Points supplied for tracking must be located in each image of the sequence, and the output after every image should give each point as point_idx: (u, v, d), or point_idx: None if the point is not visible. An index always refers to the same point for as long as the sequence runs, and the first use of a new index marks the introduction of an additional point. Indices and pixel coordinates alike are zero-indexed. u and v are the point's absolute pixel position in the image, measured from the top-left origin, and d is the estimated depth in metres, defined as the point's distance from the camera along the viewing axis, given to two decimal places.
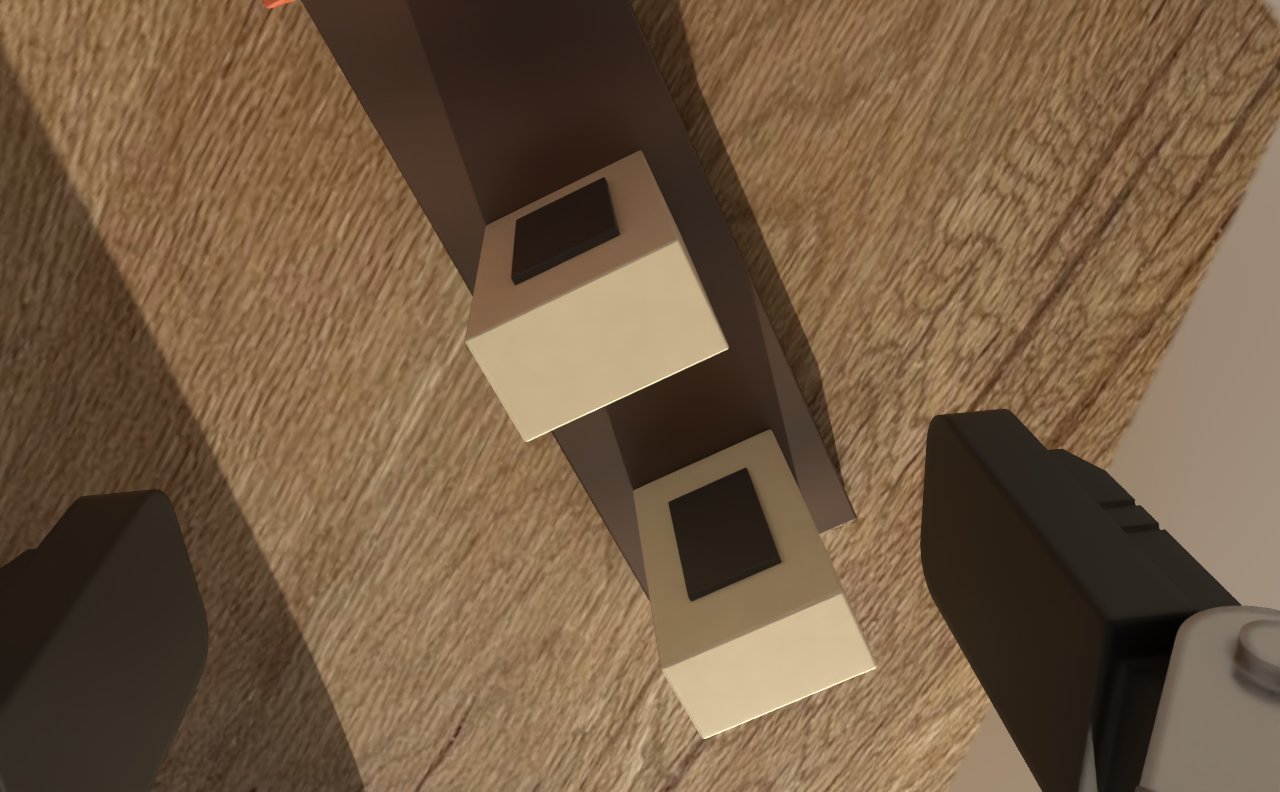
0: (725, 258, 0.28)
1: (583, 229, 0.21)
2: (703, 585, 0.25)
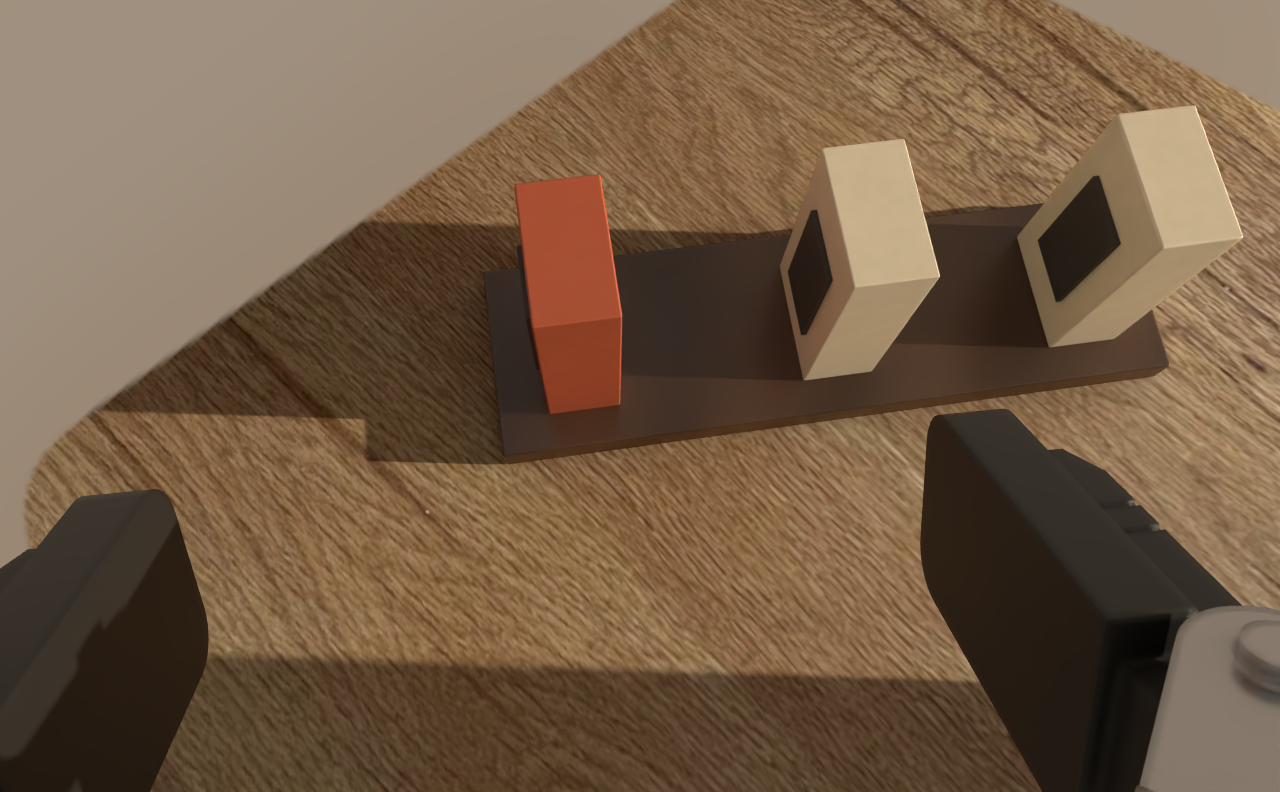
0: None
1: (809, 243, 0.32)
2: (1108, 234, 0.31)
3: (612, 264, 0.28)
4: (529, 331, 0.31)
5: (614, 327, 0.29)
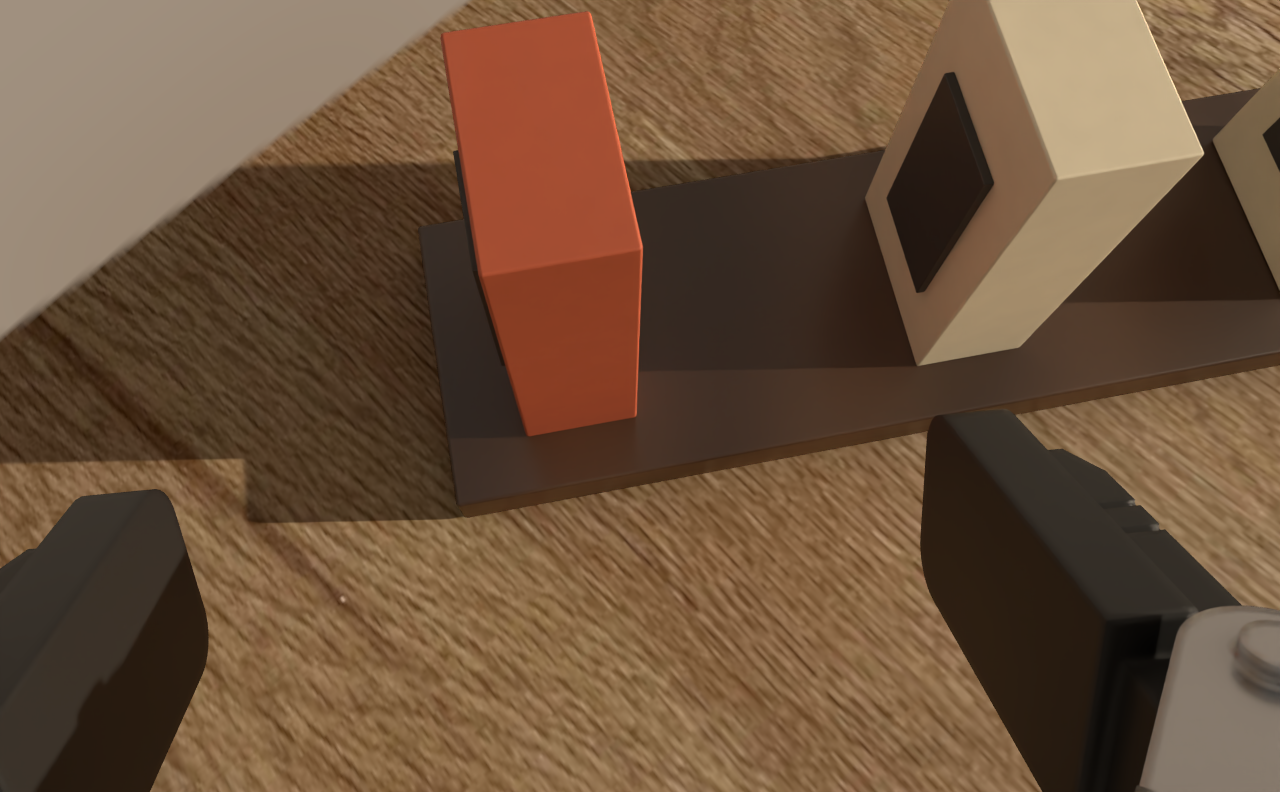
0: None
1: (940, 133, 0.19)
2: None
3: (620, 159, 0.16)
4: (482, 295, 0.18)
5: (628, 273, 0.16)
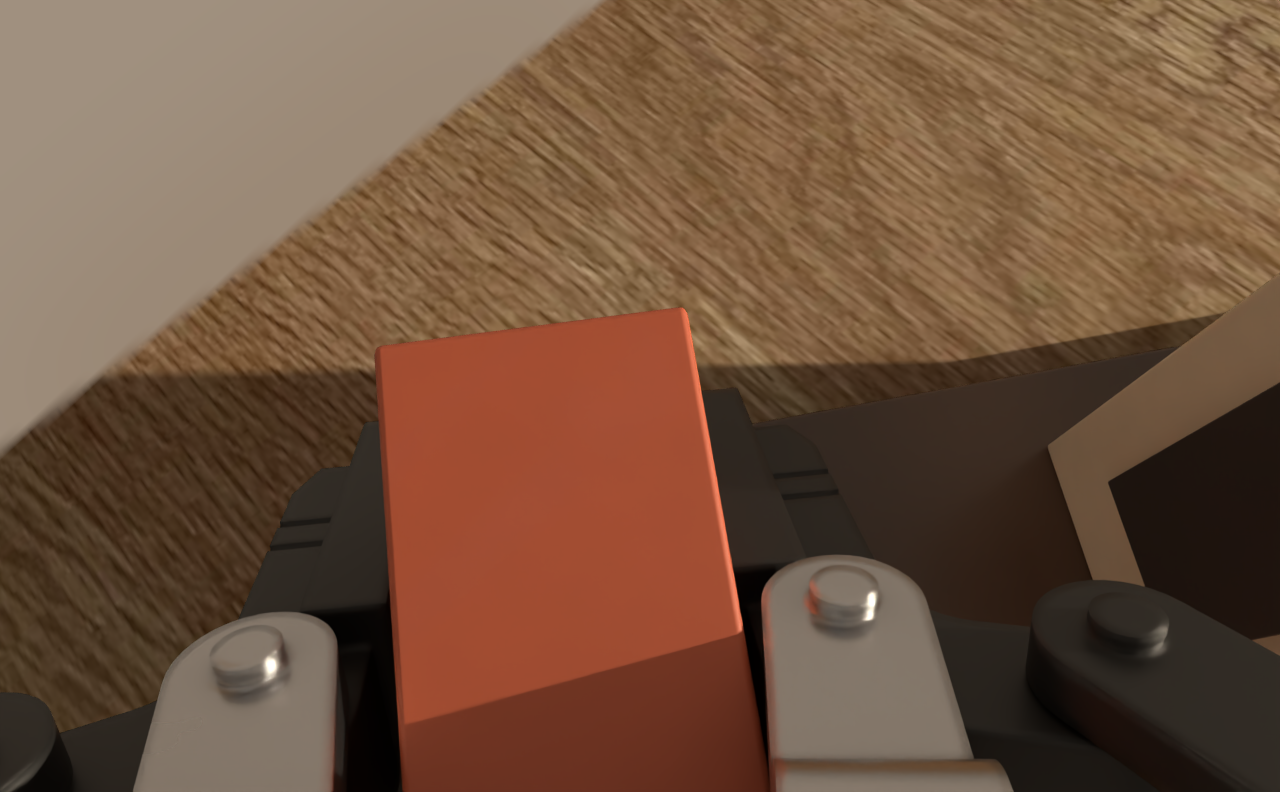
0: None
1: (1279, 458, 0.11)
2: None
3: (744, 675, 0.07)
4: None
5: None
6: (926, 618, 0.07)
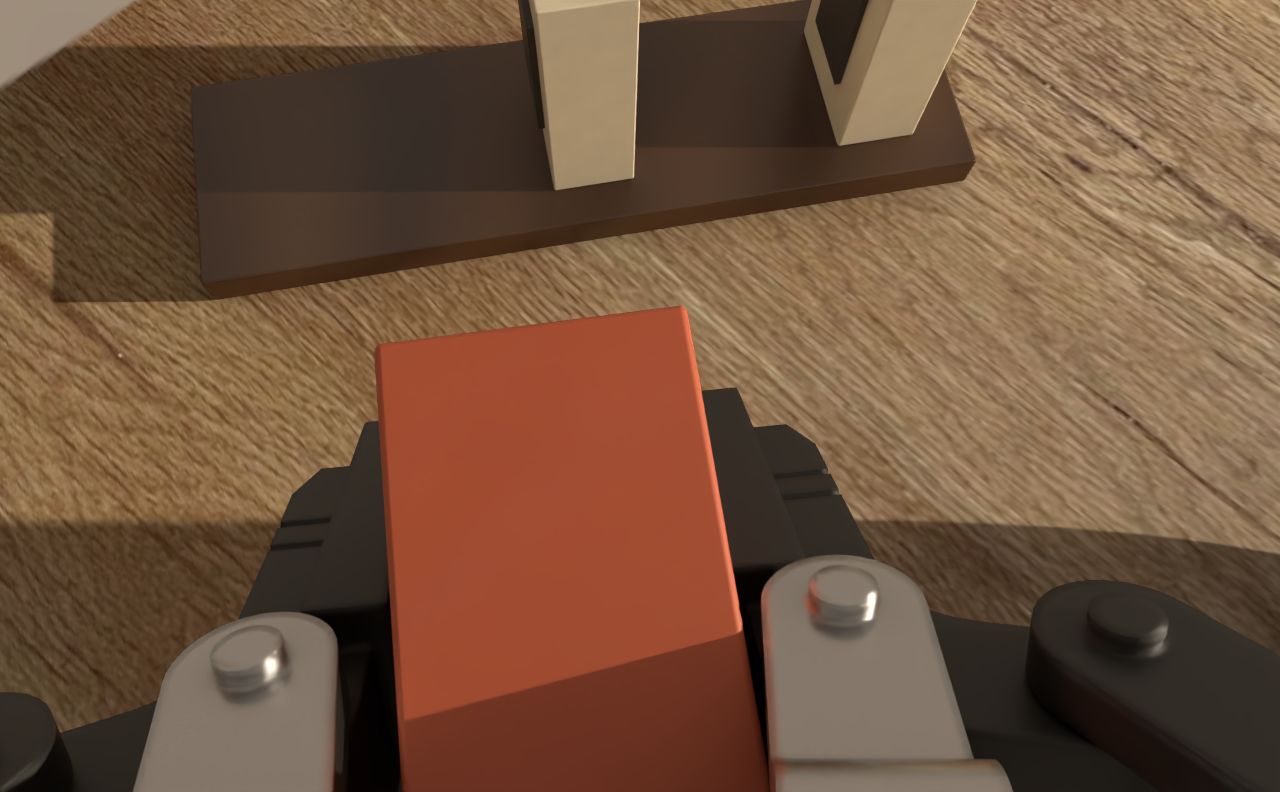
0: None
1: None
2: None
3: (744, 674, 0.07)
4: None
5: None
6: (926, 617, 0.07)
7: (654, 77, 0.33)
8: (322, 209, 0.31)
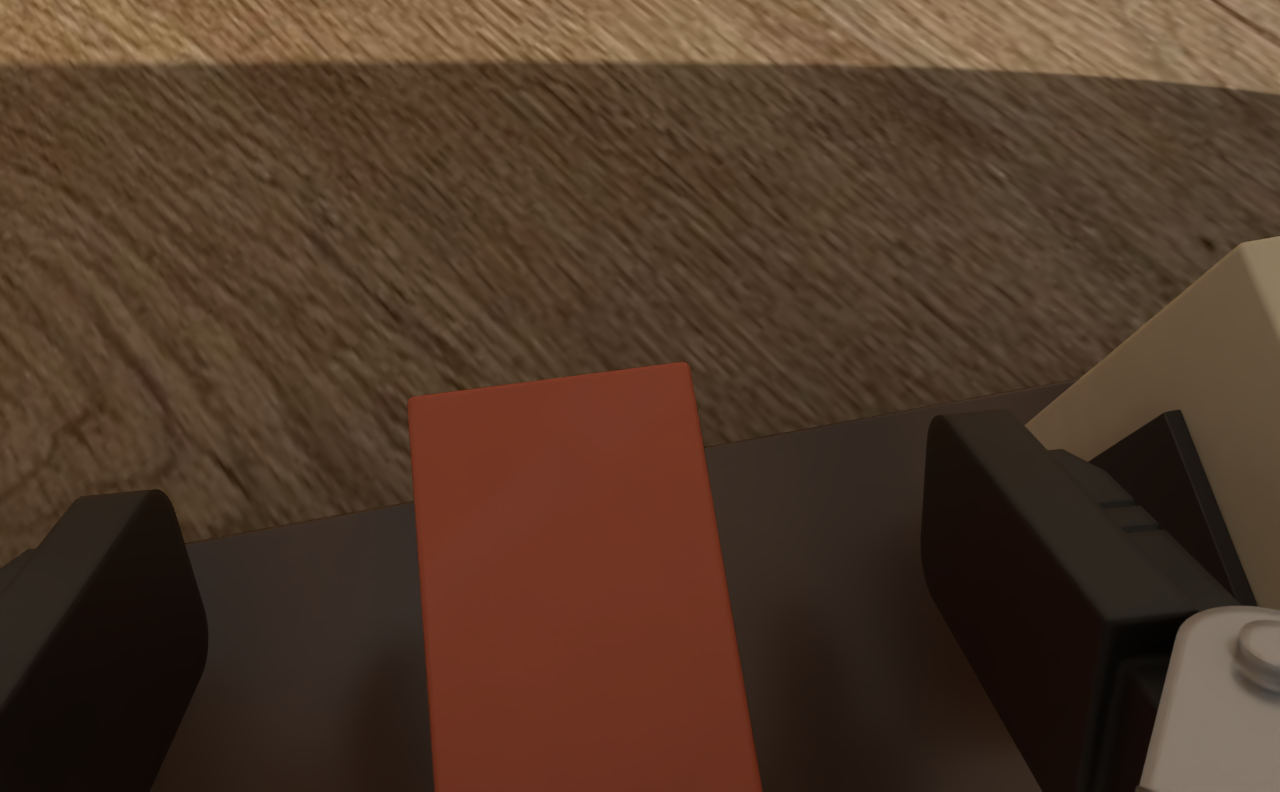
0: None
1: None
2: None
3: (740, 697, 0.08)
4: None
5: None
6: None
7: None
8: None
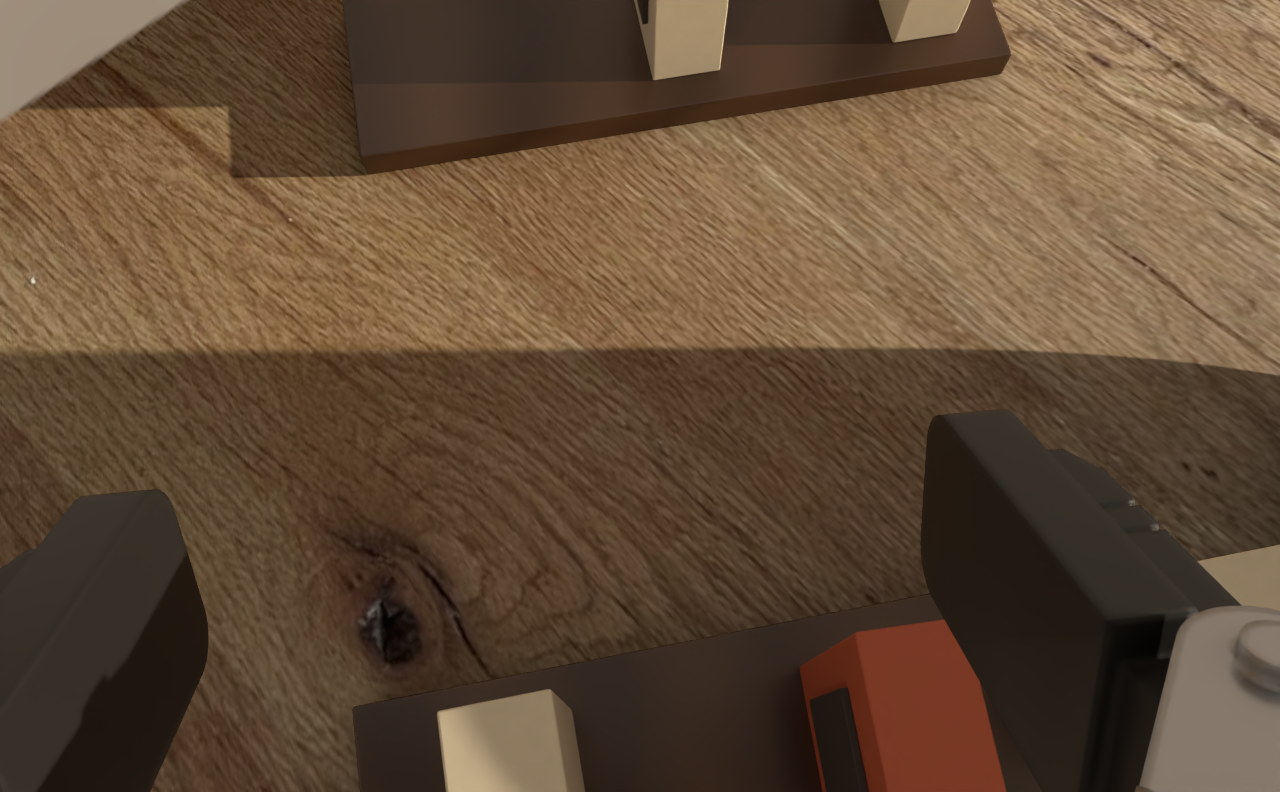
0: None
1: None
2: None
3: (995, 753, 0.22)
4: None
5: None
6: None
7: None
8: (458, 97, 0.37)
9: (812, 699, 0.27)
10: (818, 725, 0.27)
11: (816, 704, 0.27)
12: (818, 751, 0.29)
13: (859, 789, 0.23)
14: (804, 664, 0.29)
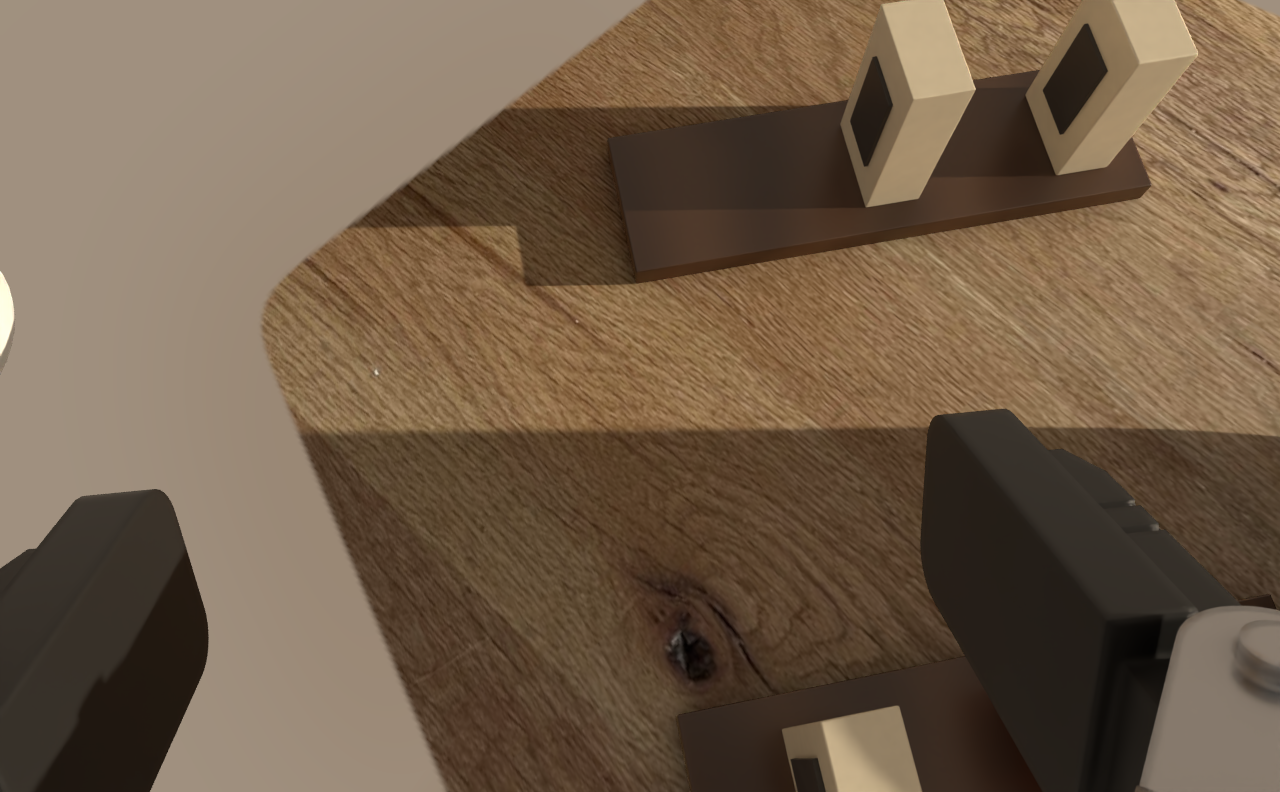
0: None
1: (871, 84, 0.42)
2: (1098, 65, 0.41)
3: None
4: None
5: None
6: None
7: None
8: (710, 221, 0.46)
9: None
10: None
11: None
12: None
13: None
14: None
